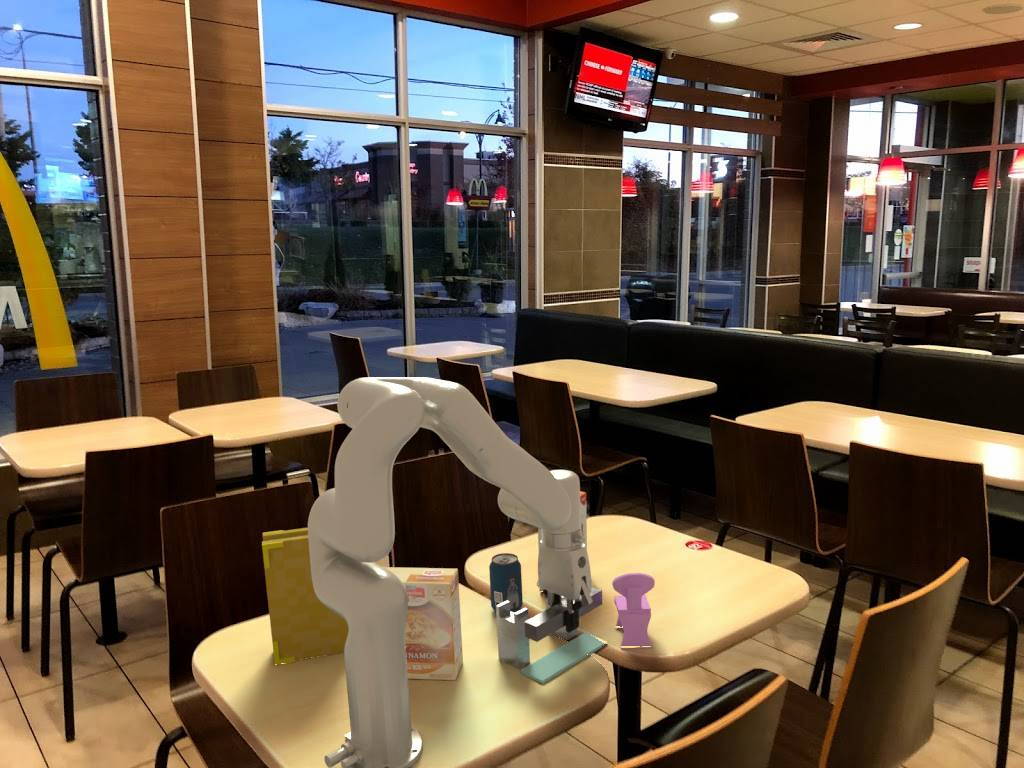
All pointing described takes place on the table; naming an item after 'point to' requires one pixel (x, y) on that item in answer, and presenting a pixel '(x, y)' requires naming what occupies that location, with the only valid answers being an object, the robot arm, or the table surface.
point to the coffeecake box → (432, 622)
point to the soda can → (506, 581)
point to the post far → (562, 631)
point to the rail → (557, 617)
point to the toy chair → (633, 607)
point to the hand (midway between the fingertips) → (565, 625)
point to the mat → (562, 658)
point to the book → (297, 601)
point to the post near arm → (512, 635)
